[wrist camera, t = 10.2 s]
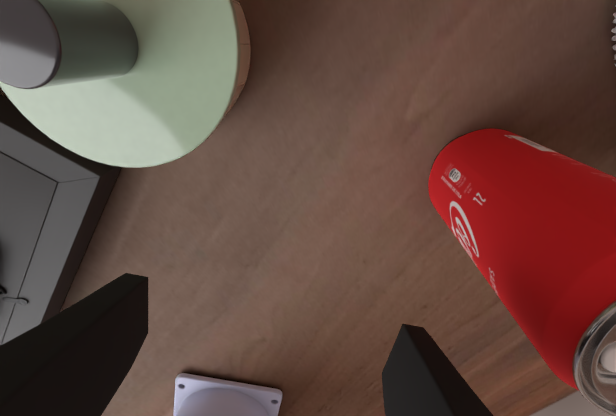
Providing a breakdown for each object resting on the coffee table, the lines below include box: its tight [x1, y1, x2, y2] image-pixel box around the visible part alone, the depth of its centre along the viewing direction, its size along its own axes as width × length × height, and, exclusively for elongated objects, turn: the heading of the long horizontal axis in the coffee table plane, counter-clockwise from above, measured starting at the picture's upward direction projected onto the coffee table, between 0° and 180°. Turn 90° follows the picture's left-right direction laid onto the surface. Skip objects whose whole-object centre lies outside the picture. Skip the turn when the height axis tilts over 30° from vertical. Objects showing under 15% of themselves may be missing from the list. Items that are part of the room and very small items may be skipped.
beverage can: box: [429, 129, 616, 416], centre depth 13 cm, size 5×5×12 cm
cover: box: [0, 0, 241, 168], centre depth 10 cm, size 9×9×5 cm
